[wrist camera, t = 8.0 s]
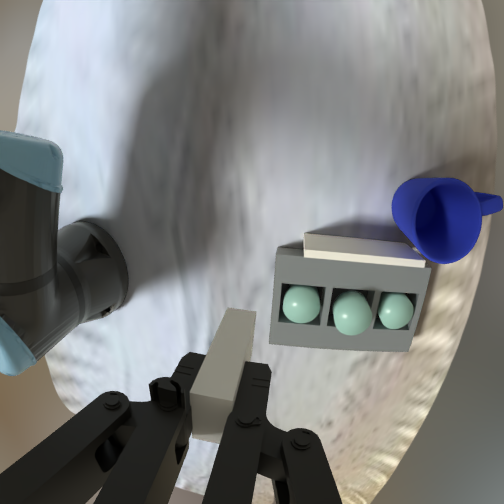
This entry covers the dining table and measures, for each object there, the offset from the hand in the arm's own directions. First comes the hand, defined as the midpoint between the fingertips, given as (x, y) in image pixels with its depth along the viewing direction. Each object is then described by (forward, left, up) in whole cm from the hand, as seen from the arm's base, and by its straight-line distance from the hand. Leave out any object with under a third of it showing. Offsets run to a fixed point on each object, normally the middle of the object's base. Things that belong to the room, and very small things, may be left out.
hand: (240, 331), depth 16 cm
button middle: (+10, -8, -20) cm, 23 cm away
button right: (+16, -8, -22) cm, 28 cm away
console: (+10, -8, -22) cm, 26 cm away
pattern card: (+10, 0, -22) cm, 25 cm away
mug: (+19, +6, -23) cm, 30 cm away
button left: (+4, -8, -22) cm, 23 cm away
